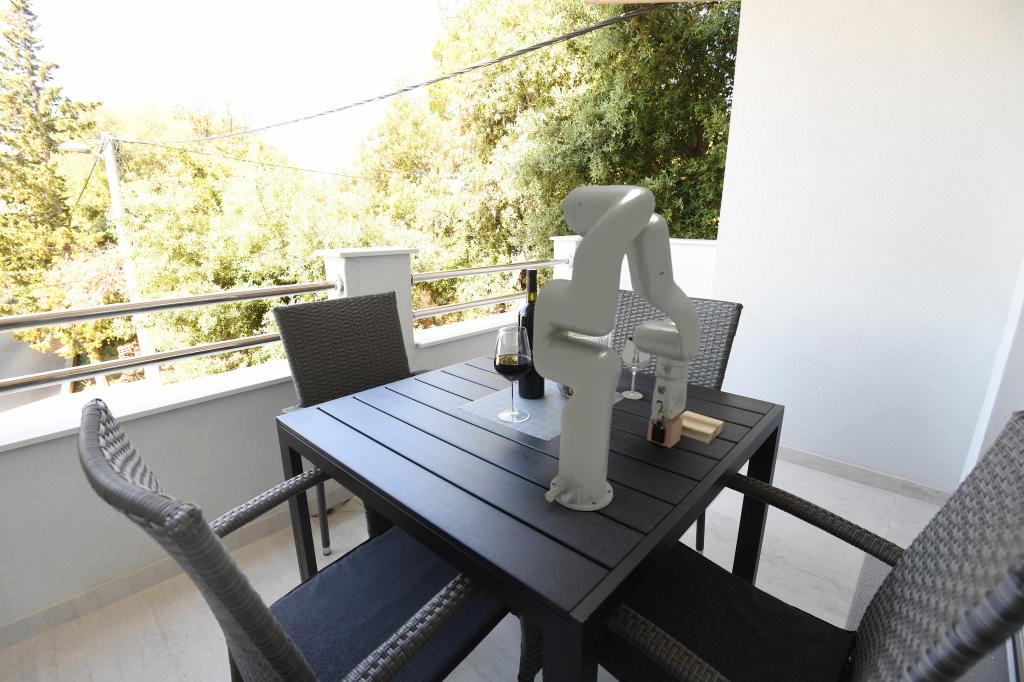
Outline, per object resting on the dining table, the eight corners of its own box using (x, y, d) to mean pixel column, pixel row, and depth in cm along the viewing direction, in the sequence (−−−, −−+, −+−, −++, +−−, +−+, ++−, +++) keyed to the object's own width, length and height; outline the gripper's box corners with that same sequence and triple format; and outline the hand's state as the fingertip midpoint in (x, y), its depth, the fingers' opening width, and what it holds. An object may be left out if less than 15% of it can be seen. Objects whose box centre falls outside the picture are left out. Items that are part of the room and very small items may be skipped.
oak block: (708, 445, 120) (709, 434, 119) (669, 432, 126) (671, 421, 126) (722, 432, 127) (723, 421, 126) (685, 420, 134) (686, 410, 133)
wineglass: (648, 401, 145) (654, 343, 140) (621, 400, 145) (626, 342, 140) (642, 391, 153) (647, 336, 148) (616, 390, 153) (621, 335, 148)
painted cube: (669, 448, 117) (672, 425, 116) (647, 440, 121) (649, 418, 119) (680, 440, 122) (682, 418, 120) (657, 432, 125) (660, 411, 124)
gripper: (671, 382, 107) (662, 454, 112) (701, 364, 120) (692, 430, 125) (640, 374, 112) (633, 443, 117) (672, 358, 125) (664, 421, 130)
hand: (664, 436), depth 121 cm, fingers open, 6 cm apart
